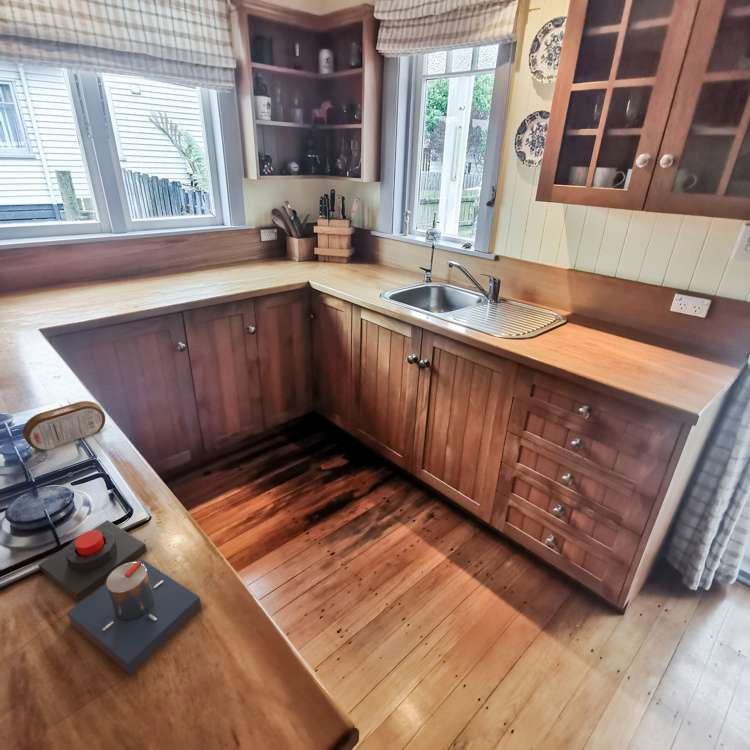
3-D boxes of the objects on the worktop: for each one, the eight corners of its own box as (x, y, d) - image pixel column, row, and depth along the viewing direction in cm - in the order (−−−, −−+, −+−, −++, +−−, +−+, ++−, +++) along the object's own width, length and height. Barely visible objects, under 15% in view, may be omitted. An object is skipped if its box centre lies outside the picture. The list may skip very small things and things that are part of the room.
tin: (106, 426, 108) (97, 394, 104) (110, 432, 106) (102, 399, 102) (29, 452, 98) (16, 418, 94) (32, 459, 96) (20, 424, 92)
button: (72, 550, 71) (69, 541, 70) (95, 535, 74) (92, 526, 73) (86, 560, 69) (83, 551, 69) (109, 544, 72) (106, 536, 71)
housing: (42, 574, 71) (34, 555, 69) (110, 529, 80) (105, 511, 78) (80, 605, 67) (73, 586, 65) (147, 553, 75) (143, 535, 74)
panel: (72, 627, 64) (66, 612, 62) (144, 571, 72) (140, 556, 71) (132, 678, 58) (127, 662, 57) (202, 611, 67) (199, 596, 65)
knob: (135, 625, 61) (126, 595, 58) (106, 614, 62) (96, 584, 60) (161, 595, 65) (154, 565, 63) (133, 585, 66) (125, 556, 64)
